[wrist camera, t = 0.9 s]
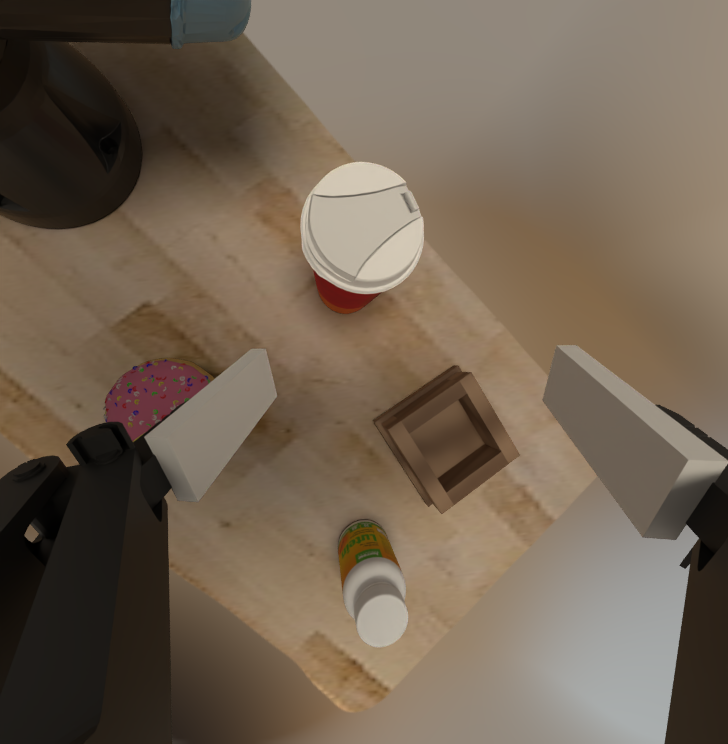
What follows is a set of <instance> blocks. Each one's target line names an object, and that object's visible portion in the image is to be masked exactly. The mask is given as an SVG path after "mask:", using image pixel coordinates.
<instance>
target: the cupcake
mask: <svg viewBox="0 0 728 744" xmlns="http://www.w3.org/2000/svg"><path fill="white" fill-rule="evenodd" d="M213 380H214V377H213V376H212V375H210V374H209V373H208V372H206V371H205V370H203V369H202V368H200V367H199V366H197V365H196V364H194V363H193V362H190V361H186V360H180V359H174V358H160V359H155V360H150V361H147V362H144V363H142V364H140V365H138V366H134V367H133V369H132V370H130V371H128V372H127V373H125V374H124V375H123V376H122V377H120V378H119V380H118V381H117V382H116V383H115V385H114V386H113V387H112V389H111V390H110V392H109V393H108V395H107V397H106V401H105V403H106V406H105V407H104V409H105V408H106V412H105V415H106V416H105V415H104V418H105V417H106V418H105V420H106V422H120V423H123V425H124V427H125V429H126V430H127V432H128V434H129V436H130V438H131V439H132V441H133V442H134V441H136V440H137V439H138V438H139V437H140V436H142V435H143V434H144V433H145V432H147V431H148V430H149V429H150V428H152V427H153V426H154V425H155V424H156V423H158V422H159V421H162V419H163V418H164V417H165V416H166V415H168V414H170V412H171V411H173V410H174V409H175V408H176V407H177V406H179V405H180V404H182V403H184V402H186V401H188V400H189V399H191V398H192V397H193V396H195V395H196V394H197V393H198V392H199V391H201V390H202V389H203V388H204V387H206V386H207V385H208V384H209V383H210V382H212V381H213ZM104 409H103V410H104Z"/></svg>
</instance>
